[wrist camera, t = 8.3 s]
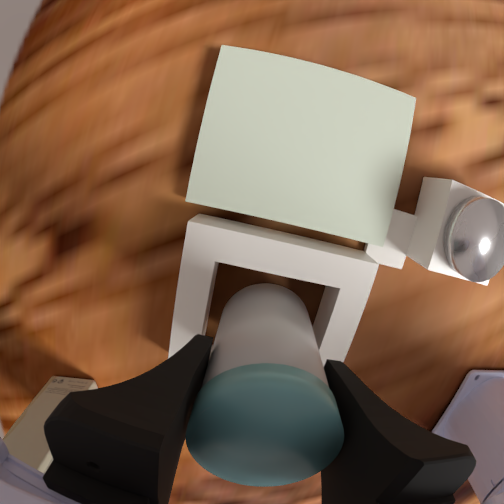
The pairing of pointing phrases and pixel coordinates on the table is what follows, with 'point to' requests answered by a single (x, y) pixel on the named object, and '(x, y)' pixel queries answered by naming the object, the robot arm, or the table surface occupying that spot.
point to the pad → (301, 145)
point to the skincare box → (41, 422)
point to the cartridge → (265, 394)
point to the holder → (313, 264)
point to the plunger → (475, 238)
